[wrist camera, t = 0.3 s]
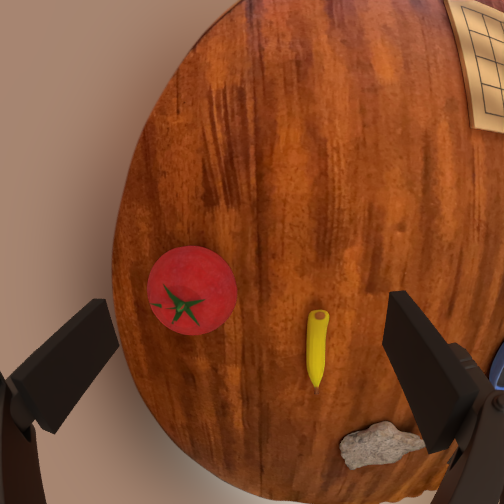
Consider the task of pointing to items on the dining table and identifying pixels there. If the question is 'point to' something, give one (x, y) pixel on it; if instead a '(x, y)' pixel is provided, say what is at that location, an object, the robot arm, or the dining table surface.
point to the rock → (378, 445)
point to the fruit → (316, 345)
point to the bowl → (498, 370)
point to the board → (480, 60)
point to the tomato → (191, 290)
